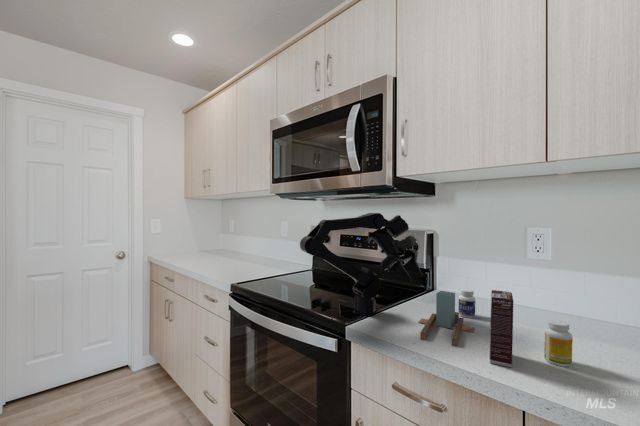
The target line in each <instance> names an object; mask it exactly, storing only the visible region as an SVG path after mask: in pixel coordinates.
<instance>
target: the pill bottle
mask: <svg viewBox="0 0 640 426" xmlns="http://www.w3.org/2000/svg"><path fill="white" fill-rule="evenodd" d="M457 312H458V313H459V317H461V318H465V319H466V318H467V319H472V318H473V319H474V318H475V317H476V297H474V290H473V289H470V288H469V289H468V288H462V289H460V295H459V296H458V311H457Z"/></svg>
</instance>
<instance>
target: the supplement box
mask: <svg viewBox="0 0 640 426" xmlns="http://www.w3.org/2000/svg"><path fill="white" fill-rule="evenodd" d="M490 298H491V300H490V301H491V304H490V326H489V327H490V328H489V331H490V332H489V363H490V364H492V365H493V364H494V365H497V366H502V367H506V368H513V335H514V334H513V333H514V332H513V331H514V299H513V292H510V291H503V290H496V289H495V290H494V289H491V297H490Z"/></svg>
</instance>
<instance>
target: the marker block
mask: <svg viewBox="0 0 640 426" xmlns="http://www.w3.org/2000/svg"><path fill="white" fill-rule="evenodd" d="M435 298H436V303H435V305H436V306H435V308H436V309H435V314H436V325H439V326H443V327H442V328H444V327H447V328H446V329H450V328H451V327H453V326H454V325H455V312H456V292H451V291H446V290H440V291H437V293H436V297H435Z"/></svg>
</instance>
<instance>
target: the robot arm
mask: <svg viewBox="0 0 640 426" xmlns="http://www.w3.org/2000/svg"><path fill="white" fill-rule="evenodd" d="M349 229H352V230H353V229H371V230H374V231H368V233H367V242H371V241H374V242H375V244H377V247H379V248H380V249H381V250H380V253H381V254H385V256H386V257H384V259H382V261H381V262H380V267H381V268H382V270H384V271H387V272H388V273H389V272H390V273H392V274H393V275H395V276H398V277H400V278H402V279H404V280H406V281H407V282H412V281H413V280H412V277H411V276H410V274H409V273H408V271H407V270H409V271H411V273H413V274H414V275H416V276H418V277H419V278H422V277H423V276H424V275H423V273H422V271H421V267H420V266H419V264H418V261H417V260H418V256H419V252H418V251H417V250H416V249H414V248H412V247H416V246H418V243H417V242H416V241H417V239H416V238H415V236H412V235H411V234H410V235H407V236H405V238H403V239H401V240H399V239H396V238H398V237H399V236H401V235H403V234H405V233H406V232H408V231H409V229H410V227H409V224H408V223H407V221H406V220H405V219H404V218H403V217H401V215H399V214H397V215H395V216H393V218H391V219H390V220H389V219H386V218H385V217H384V215H383V214H382V213H379V212H369V213H365V214H362V215H359V216H356V217H345V218H337V219H335V218H334V219H321V220H320V221H319V222H318V224H317V225H316V226H315V227H314V228H313V229H312V230H311V231H309V233H308V234H307V235H305V236H304V237H302V238H301V239H300V242H299V248H300V250H301V251H302V252H304V253H306V254H309V255H310V256H313V257H316V258H319V259H321V260H323V261H324V262H327V263H328V264H330V265H332V267H334V268H336V269H338V270H339V271H341V272H343V273H344V274H346V275H348V277H351V279H352V280H354V282H355V284H354V285H353V286H352V291H353V293H354V294H355V295H354V310H352V314H356V315H362V316H367V315H368V317H371V316H372V315H373V314H375V313H376V312H377V310H376V308H377V305H376V303H377V300H376V299H375V298H377V295H378V292H379V290H380V289H381V286H382V281H381V279H380V278H379V275H378V274H376V273H374V272H372V270H370V269H368V268H365V267H363V266H361V268H360V269H359V268H357V267H355V265H353V264H351V263H350V262H348V261H346V260H345V259H343V258H342V257H340V256H339V255H338V254H336V253H334V252H332V251H331V250H330V249H329V248H328V247H327V246H326V245H325V242H326V240H327V238H328V235H330V233H331V231H332V232H333V231H341V230H349ZM409 248H410V249H409ZM406 269H407V270H406ZM375 311H376V312H375ZM372 313H373V314H372ZM371 314H372V315H371ZM370 315H371V316H370Z"/></svg>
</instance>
